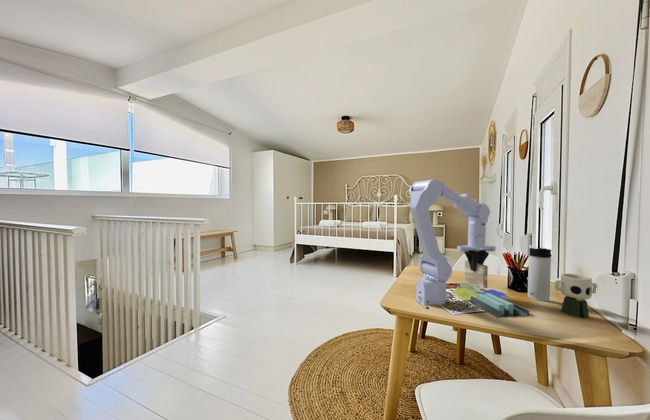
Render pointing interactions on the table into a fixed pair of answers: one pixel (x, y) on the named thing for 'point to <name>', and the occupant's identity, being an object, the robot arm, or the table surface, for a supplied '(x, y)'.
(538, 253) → the travel mug
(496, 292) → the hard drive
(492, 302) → the offcut
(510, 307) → the offcut
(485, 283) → the birch sheet
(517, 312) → the rack
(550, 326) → the table surface
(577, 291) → the character mug
